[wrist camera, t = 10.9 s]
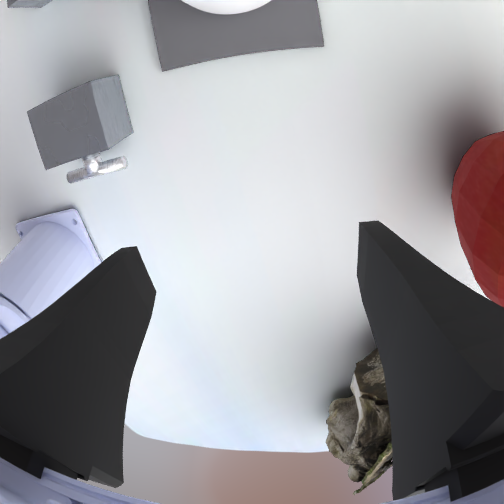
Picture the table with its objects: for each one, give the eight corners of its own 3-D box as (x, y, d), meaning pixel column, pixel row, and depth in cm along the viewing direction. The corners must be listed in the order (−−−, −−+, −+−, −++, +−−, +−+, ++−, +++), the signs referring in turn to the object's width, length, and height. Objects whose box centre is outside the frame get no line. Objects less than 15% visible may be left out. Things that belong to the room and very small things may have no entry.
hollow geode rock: (385, 273, 29) (284, 374, 21) (496, 324, 21) (432, 468, 13) (352, 407, 44) (288, 472, 36) (413, 444, 36) (354, 519, 28)
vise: (140, 158, 19) (118, 178, 16) (81, 173, 19) (55, 195, 16) (95, -68, 9) (67, -80, 6) (37, -34, 9) (5, -38, 7)
